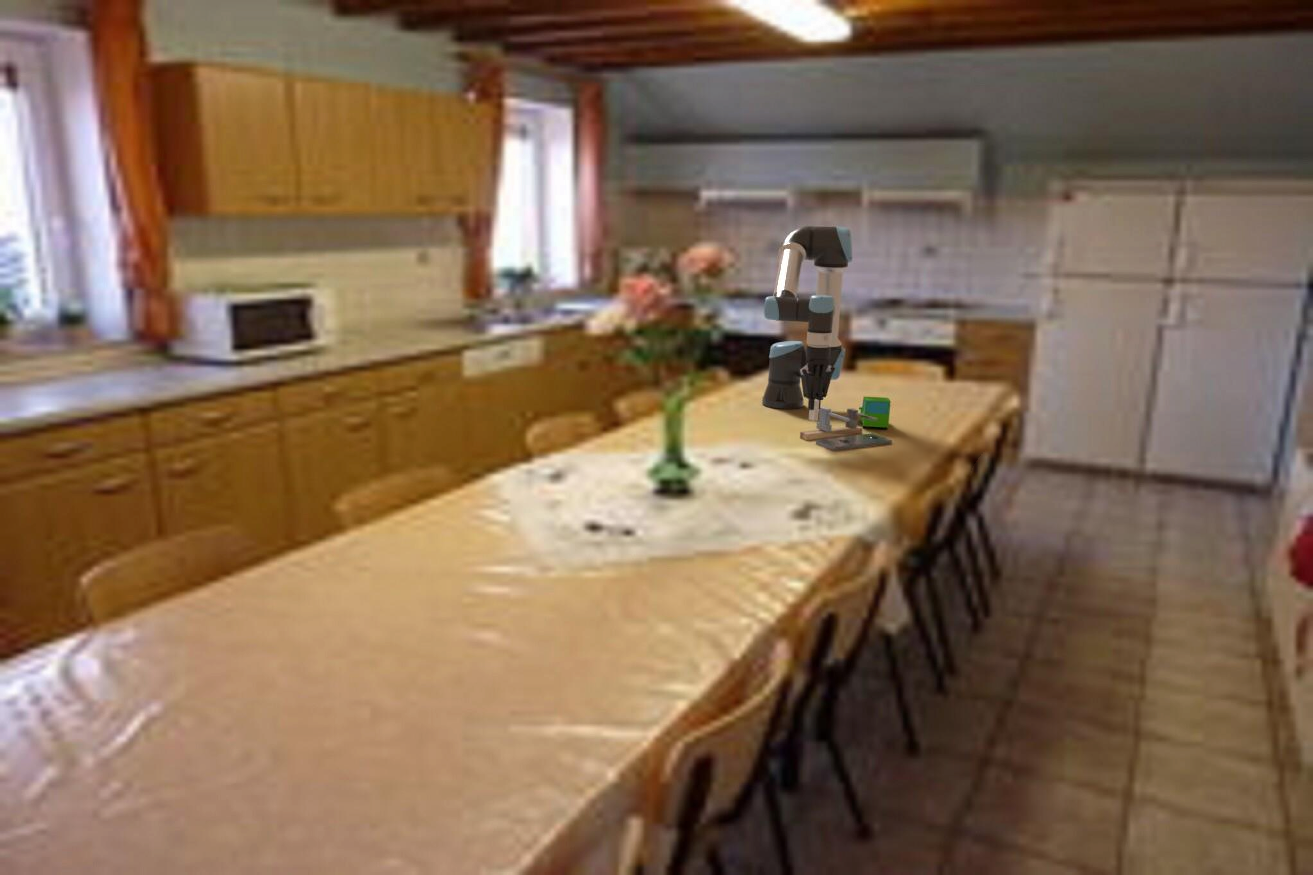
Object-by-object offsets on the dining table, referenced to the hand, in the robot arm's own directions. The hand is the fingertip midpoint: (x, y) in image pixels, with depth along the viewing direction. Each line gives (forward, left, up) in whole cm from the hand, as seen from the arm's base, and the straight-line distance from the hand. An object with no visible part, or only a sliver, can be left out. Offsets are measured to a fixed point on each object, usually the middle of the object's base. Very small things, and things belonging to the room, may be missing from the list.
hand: (813, 419), depth 299 cm
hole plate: (+11, +8, -6) cm, 15 cm away
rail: (+5, +8, -6) cm, 11 cm away
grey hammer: (+4, +5, -4) cm, 7 cm away
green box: (-6, +31, -6) cm, 32 cm away
